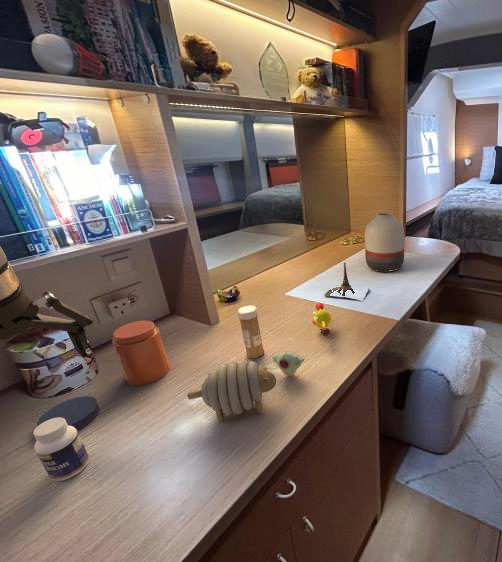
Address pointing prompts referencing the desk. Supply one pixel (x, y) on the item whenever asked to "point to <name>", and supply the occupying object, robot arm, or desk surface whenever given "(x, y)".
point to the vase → (384, 243)
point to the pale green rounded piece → (288, 362)
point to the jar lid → (74, 412)
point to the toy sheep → (235, 388)
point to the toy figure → (322, 319)
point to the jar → (141, 352)
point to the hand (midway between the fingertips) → (39, 374)
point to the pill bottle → (60, 449)
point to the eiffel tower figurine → (344, 286)
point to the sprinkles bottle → (251, 331)
